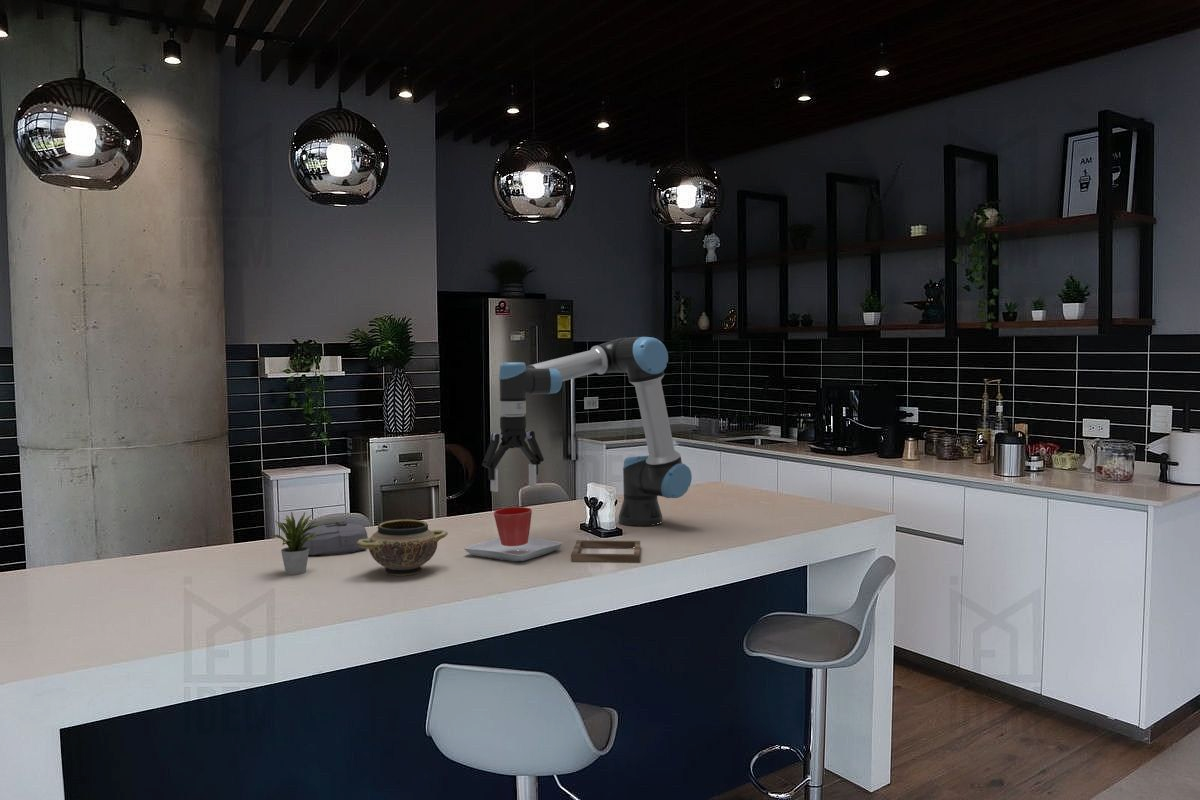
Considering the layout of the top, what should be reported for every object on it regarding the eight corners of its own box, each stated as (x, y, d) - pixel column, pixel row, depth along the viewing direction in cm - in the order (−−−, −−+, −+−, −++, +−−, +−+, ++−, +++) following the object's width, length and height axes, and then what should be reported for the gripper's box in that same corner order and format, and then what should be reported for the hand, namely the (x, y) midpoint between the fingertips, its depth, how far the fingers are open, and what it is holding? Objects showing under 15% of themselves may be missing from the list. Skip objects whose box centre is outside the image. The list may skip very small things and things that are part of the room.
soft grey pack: (359, 543, 268) (292, 550, 258) (359, 516, 268) (291, 522, 258) (372, 552, 255) (302, 560, 245) (372, 524, 255) (301, 531, 245)
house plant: (312, 580, 222) (311, 517, 221) (259, 580, 223) (257, 517, 222) (330, 566, 236) (329, 507, 236) (280, 566, 237) (279, 507, 236)
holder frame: (576, 546, 261) (576, 540, 260) (640, 547, 259) (640, 540, 259) (571, 561, 242) (570, 554, 241) (639, 562, 240) (639, 555, 240)
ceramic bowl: (362, 593, 219) (365, 539, 215) (347, 562, 234) (350, 511, 230) (455, 582, 231) (459, 530, 227) (436, 552, 246) (439, 504, 242)
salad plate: (507, 545, 267) (506, 534, 267) (564, 552, 256) (564, 541, 256) (462, 558, 249) (461, 547, 248) (522, 567, 238) (521, 555, 237)
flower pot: (504, 538, 259) (502, 506, 258) (538, 539, 256) (536, 506, 255) (489, 547, 248) (487, 514, 248) (525, 548, 245) (523, 514, 244)
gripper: (484, 418, 239) (485, 494, 240) (555, 414, 256) (555, 485, 257) (469, 417, 245) (470, 491, 246) (539, 413, 261) (540, 483, 262)
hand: (513, 488), depth 251 cm, fingers open, 13 cm apart
